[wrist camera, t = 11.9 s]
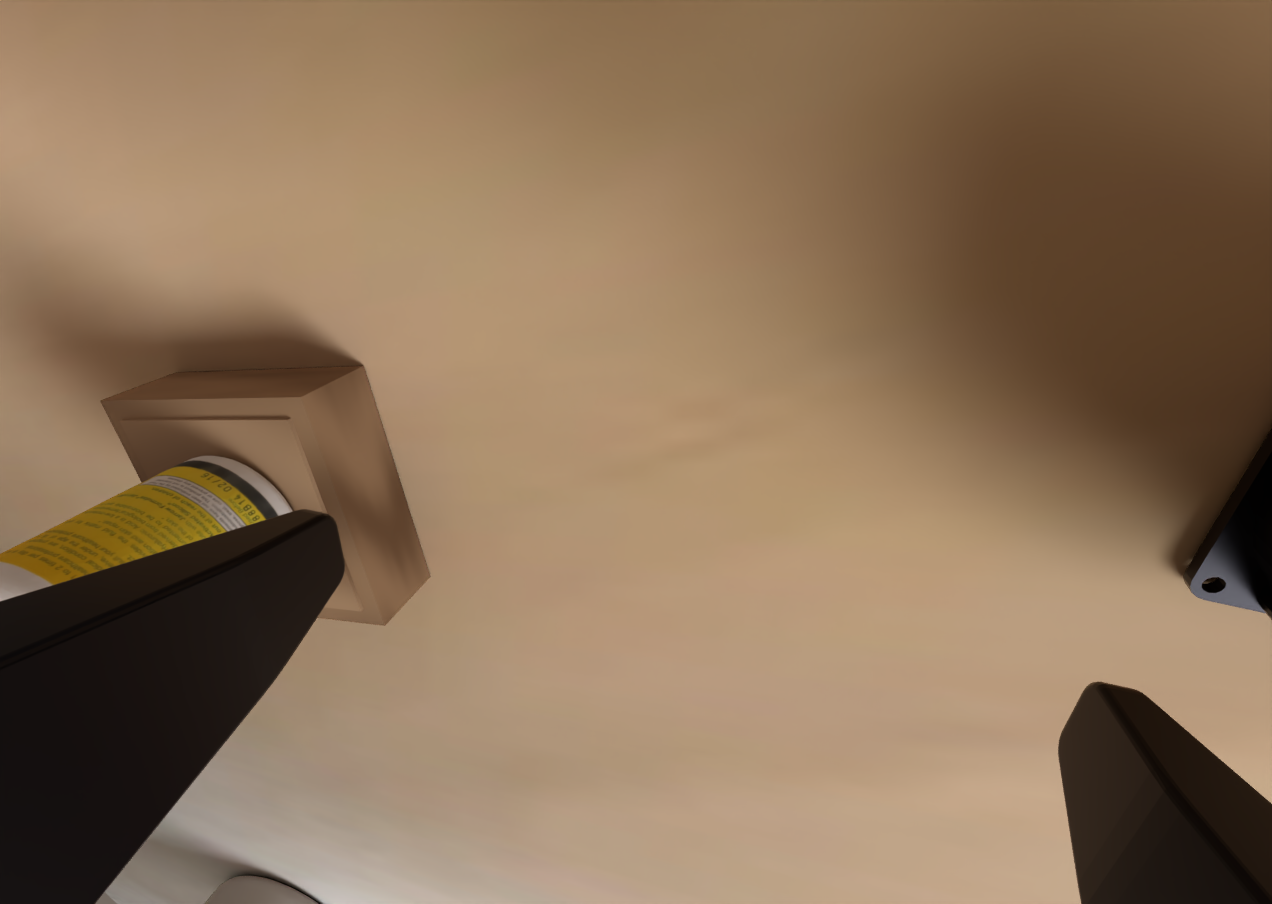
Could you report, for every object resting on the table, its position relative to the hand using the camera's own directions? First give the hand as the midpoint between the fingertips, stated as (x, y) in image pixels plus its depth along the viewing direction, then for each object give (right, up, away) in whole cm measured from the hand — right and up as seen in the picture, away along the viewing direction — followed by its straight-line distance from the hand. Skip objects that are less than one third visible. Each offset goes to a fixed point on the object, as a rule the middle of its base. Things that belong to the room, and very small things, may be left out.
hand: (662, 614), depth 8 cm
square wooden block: (-14, +1, +18) cm, 23 cm away
